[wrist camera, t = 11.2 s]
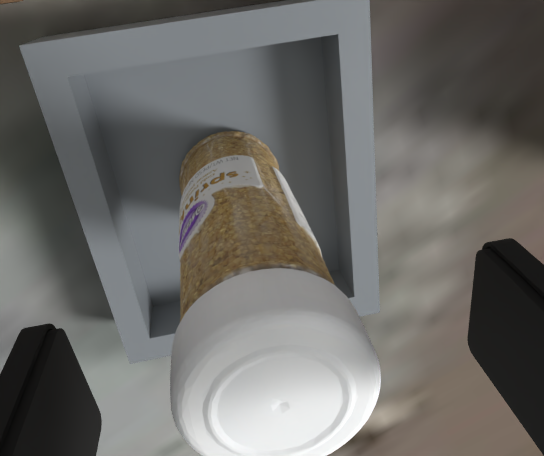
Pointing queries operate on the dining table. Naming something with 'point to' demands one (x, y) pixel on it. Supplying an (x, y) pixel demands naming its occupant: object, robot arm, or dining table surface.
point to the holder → (9, 1)
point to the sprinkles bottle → (260, 316)
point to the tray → (201, 123)
